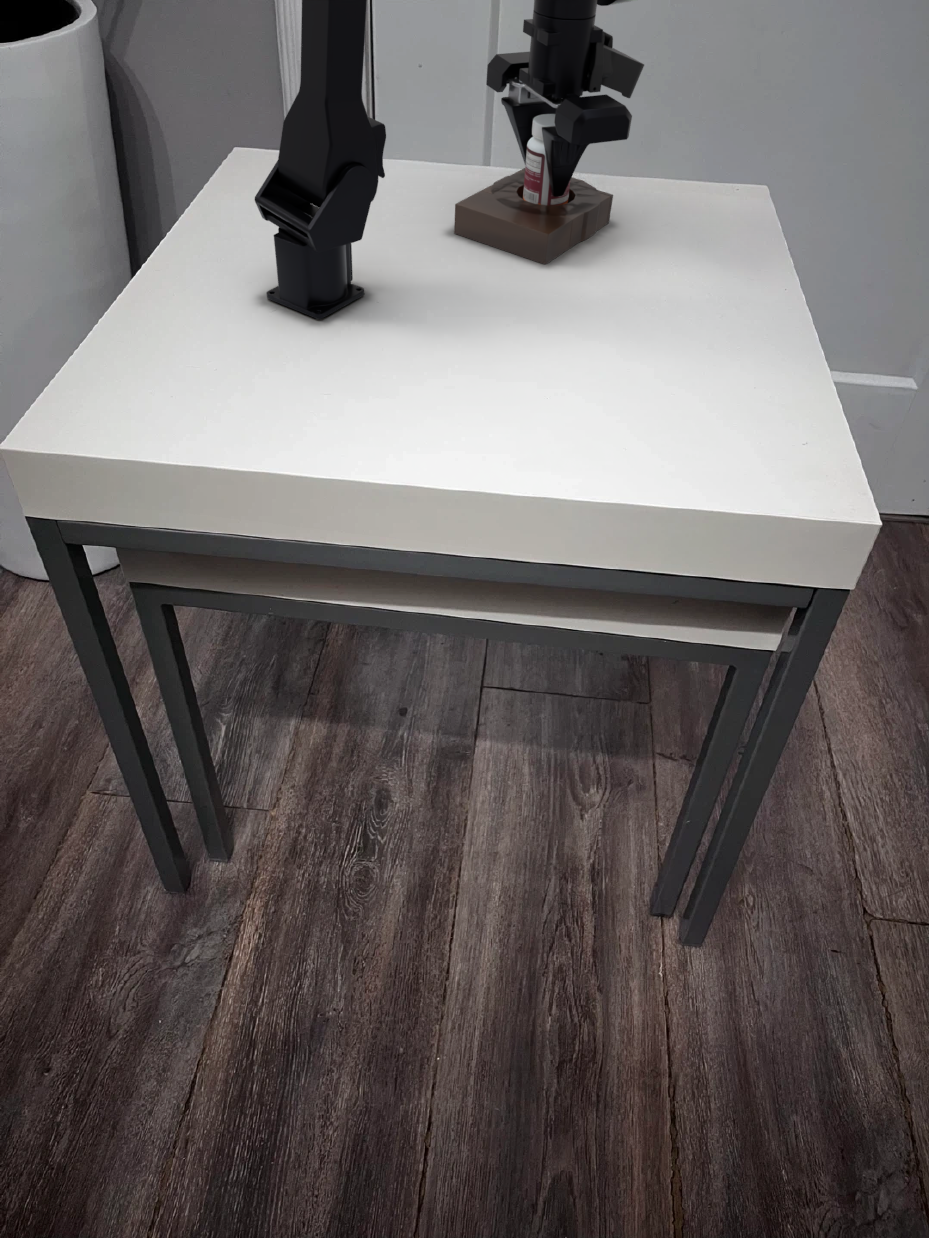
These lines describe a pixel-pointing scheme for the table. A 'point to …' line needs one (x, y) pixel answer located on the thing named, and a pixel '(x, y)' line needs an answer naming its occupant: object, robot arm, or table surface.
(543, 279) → the table surface
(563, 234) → the brown block with hole
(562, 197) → the pill bottle
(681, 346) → the table surface
